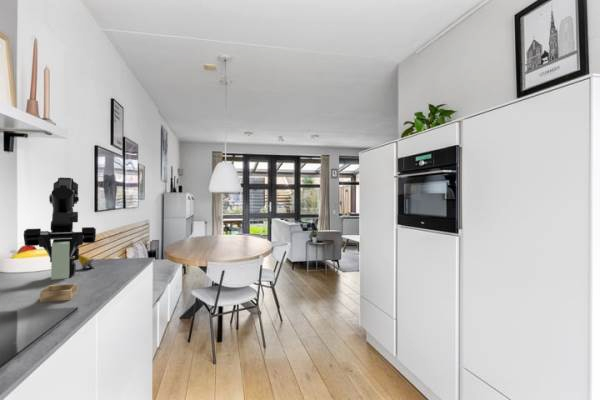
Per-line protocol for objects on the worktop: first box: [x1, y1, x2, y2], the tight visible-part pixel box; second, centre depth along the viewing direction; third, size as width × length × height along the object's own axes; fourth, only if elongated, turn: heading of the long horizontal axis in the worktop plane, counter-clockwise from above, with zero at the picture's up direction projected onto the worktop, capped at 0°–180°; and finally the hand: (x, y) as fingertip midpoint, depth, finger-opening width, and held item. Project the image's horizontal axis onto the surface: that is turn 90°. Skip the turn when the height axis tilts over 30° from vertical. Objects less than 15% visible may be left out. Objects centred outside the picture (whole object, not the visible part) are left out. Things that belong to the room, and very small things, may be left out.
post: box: [50, 241, 70, 280], centre depth 102 cm, size 4×4×11 cm
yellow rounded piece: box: [78, 253, 95, 270], centre depth 140 cm, size 5×5×10 cm
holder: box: [39, 283, 78, 303], centre depth 102 cm, size 8×8×3 cm
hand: (60, 257), depth 100 cm, fingers closed on post, 4 cm apart
